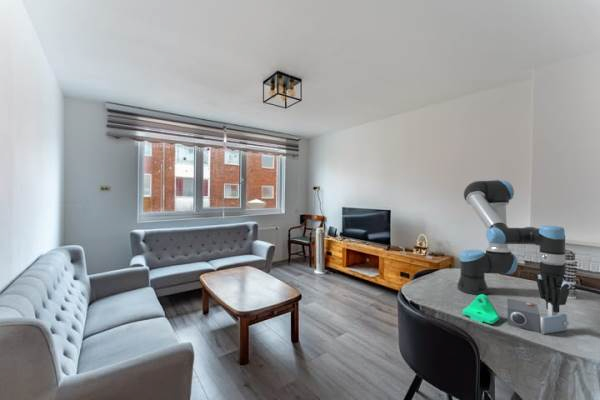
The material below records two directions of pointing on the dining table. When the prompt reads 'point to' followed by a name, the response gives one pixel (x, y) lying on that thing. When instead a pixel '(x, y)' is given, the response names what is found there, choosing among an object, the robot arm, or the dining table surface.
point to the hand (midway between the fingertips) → (552, 318)
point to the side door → (553, 323)
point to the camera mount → (482, 310)
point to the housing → (523, 315)
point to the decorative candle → (570, 273)
